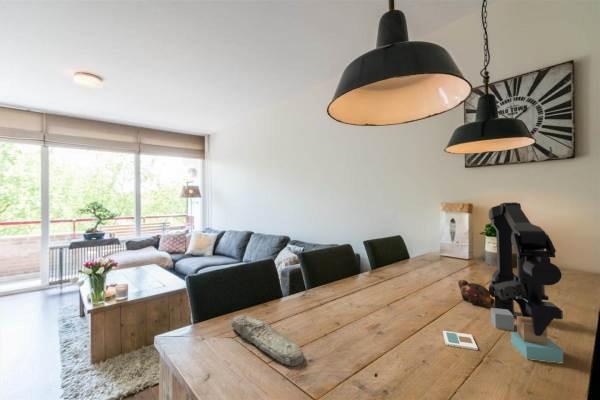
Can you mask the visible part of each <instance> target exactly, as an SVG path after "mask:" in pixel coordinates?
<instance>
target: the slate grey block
mask: <svg viewBox="0 0 600 400" xmlns="http://www.w3.org/2000/svg"><path fill="white" fill-rule="evenodd" d="M514 319H515V317H514V315H513V314H512V313H511V312H510V311H509V310H507V309H497V308H492V307H490V322H491V324H492V323H493V324H492V325H493V327H494V326H495V327H494V328H495V329H496V328H498V330H504V329H506V330H505V331H511V330H514V331H515V323H514V322H515V320H514Z"/></svg>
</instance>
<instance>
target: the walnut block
mask: <svg viewBox="0 0 600 400" xmlns="http://www.w3.org/2000/svg"><path fill="white" fill-rule="evenodd" d="M516 329H517V330H516V332H517V333H518V334H519V336H520V337H521V338H522V339H523V341H524V342H531V343H538V344H545V345H547V338H548V327H547V328H546V329H545V331H544V332H543V333H542V335H541V336H536V335H535V333H534V329H533V324H532V319H531V317H522V315H518V316H517V317H516Z"/></svg>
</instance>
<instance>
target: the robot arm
mask: <svg viewBox="0 0 600 400" xmlns="http://www.w3.org/2000/svg"><path fill="white" fill-rule="evenodd" d="M488 218H489V220H490V224H491V226H492V227H493V228H494V229H495V230H496V265H497V266H496V270H495V271H494V273H492V276H491V280H490V283H489V286H488V291H489V294H490V297H492V298H494V306H493V307H491V308H497V309H507V310H509V311H510V312H511V313H512V314H513V315H514V318H517V316H519V315H518V314H517V313H516V312H515V303H517V305H518V307H519V311H520V314H521V316H522V317H531V319H532V324H533V329H534V333H535V335H536V336H541V335H542V333H543V332H544V331H545V329H546V328H547V329H548V326H550V324H551V323H552V322H553V320H554V319H555V320H563V319H564V315H563V313H564V311H563V310H562V309H561V308H560V307H558V306H557V305H556V304H554V303H553V302H551V301H549V296H548V295H546V286H553V285H556V284H557V283H559V282H560V281H561V279H562V271H561V270H560V268H559V267H558V266H557V265H556V264H554V263H552V262H551V258H554V259H555V258H556V252H557V251H556V250H557V249H556V248H555V246H554V244H553V241H552V240H551V238H550V236H549V234H548V233H547V232H545V230H544V229H543V228H541V227H540V226H539V225H535V224H533V223H532V222H531V221H530V220H529V218H528V217H527V215H526V213H524V211H523V210H522V205H521V203H519V202H515V201H514V202H513V201H512V202H502V203H500V204H499V205H496V206H492V207H491V208H490V209H489V210H488ZM513 250H514V252H515V254H516V262H517V263H516V264H517V266H516V267H517V274H514V270H513V268H514V267H513V266H514V265H513Z"/></svg>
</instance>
